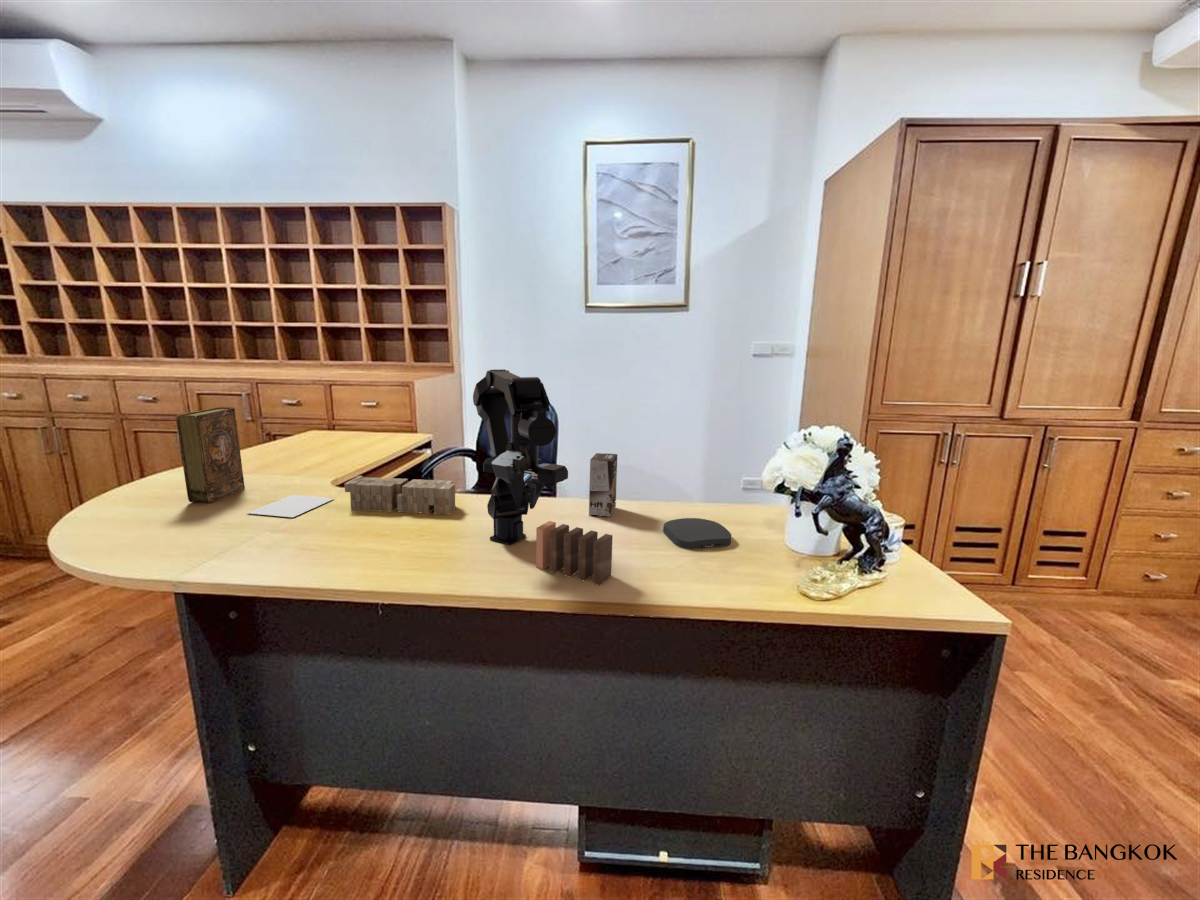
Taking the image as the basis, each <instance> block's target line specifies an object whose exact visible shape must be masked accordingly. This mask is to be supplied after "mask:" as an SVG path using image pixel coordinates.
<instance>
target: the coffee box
mask: <svg viewBox="0 0 1200 900" xmlns="http://www.w3.org/2000/svg"><path fill="white" fill-rule="evenodd" d="M589 460H590V461H589V487H588V488H589V494H588V495H589V498H588V499H589V500H588V516H591V515H601V516H612V515H613V513H614V511H615V509H616V508H615V507H617V506H616V505H617V480H618V479H617V477H618V473H617V472H618V454H616V453H606V452H605V453H600V452H599V453H598V452H597V453H595V454H594V455H593V456H592V457H591V458H590V459H589ZM615 501H616V502H615ZM613 510H614V511H613ZM612 512H613V513H612ZM611 514H612V515H611ZM601 516H600V517H601Z"/></svg>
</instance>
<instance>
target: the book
mask: <svg viewBox="0 0 1200 900" xmlns="http://www.w3.org/2000/svg"><path fill="white" fill-rule="evenodd" d="M175 420H176V428H177V434H178V441H179V446H180V447H179V448H180V455H181V462H182V469H183V475H184V476H183V477H184V481H185V488H186V489H185V490H186V493H187V494H186V495H187V500H188V502H189V503H197V502H203V503H204V502H205V503H207V504H211V503H214V502H216V501H220V500H221V498H222V499H223V497H224V498H226V497H228V495H229V496H231V495H233V494H235V493H234V492H236V493H238V492H240V491H242V490H241V489H243V488H245V479H244V472H243V471H244V470H243V463H242V456H241V454H242V453H241V449H240V447H241V446H240V441H239V432H238V424H237V418H236V408H235V407H229V406H221V407H220V406H219V407H212V408H208V409H202V410H197V411H191V412H190V411H189V412H186V413H181V414H177V415H176V417H175ZM245 489H246V488H245ZM239 490H240V491H239ZM243 490H244V489H243ZM237 491H238V492H237ZM232 493H233V494H232ZM230 494H231V495H230ZM225 496H226V497H225Z"/></svg>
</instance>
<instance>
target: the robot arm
mask: <svg viewBox="0 0 1200 900" xmlns="http://www.w3.org/2000/svg"><path fill="white" fill-rule="evenodd" d="M473 390H474V391H473V395H472V401H473V405H474V406H475V408H476V411H477V415H478V416H479V417H480V418H481V419H482V420H483V422H485V425H486V430H487V436H488V440H489V445H490V452H491V457H487V458H485V460H484V462H483V464H482V465H483V472H484V473H489V474H494V476H495V481H494V482H493V486H492V488H491V495H490V497H489V500H488V501H487V505H486V506H487V513H488V515H489V516H490V517H491V518H492V519H493V535H490V537H489V540H491V541H494V542H498V543H500V544H505V545H513V544H515V543H517V542H519V541H520V540H522V539H524V538H526V536H527V534H525V533H524V521H523V515H527V516H528V512H529V510H533V509H535V507H536V505H537V502H538V500H539V498H540V496H541V494H542V492H543V490H544V488H545V486H546V485H547V484H548V485H556V484H558V483H560V482H563V481H565V480H568V479H569V470H568V468H567V466H566V465H562V464H556V463H550V464H546V465H545V466H540V465H542V464H543V459H542V458H539V447H545V446H547V445H549V444H551V443H552V442H553V440H554V439H555V436H556V433H557V430H556V429H557V428H556V426H555V424H554V422H553V421H552V420H551V419H550V418H548V417H547V412H550V411H551V410H550V404H551V402H550V399H549V397H548V394H547V391H546V388H545V386H544V383H543V382H542V380H541V379H540V378H539V377H538V376H527V377H525V376H524V377H521V376H519V375H516V374H514V373H512V372H510V371H509V370H506V369H504V368H503V369H490V370H487V371H486V373H485V376H484V377H483V378H482V379H480V380H479V381H478V382H476V383H475V387H474V389H473ZM508 409H509V412H510V440H509V434H508V433H509V432H508V430H507V429H508V428H507V424H506V419H505V416H506V415H507V412H508ZM525 474H526V475H527V474H528V475H531V479H527V480H525V479H524V478H525ZM525 483H526V484H525ZM526 485H527V486H528V490H527V489H526Z"/></svg>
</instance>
